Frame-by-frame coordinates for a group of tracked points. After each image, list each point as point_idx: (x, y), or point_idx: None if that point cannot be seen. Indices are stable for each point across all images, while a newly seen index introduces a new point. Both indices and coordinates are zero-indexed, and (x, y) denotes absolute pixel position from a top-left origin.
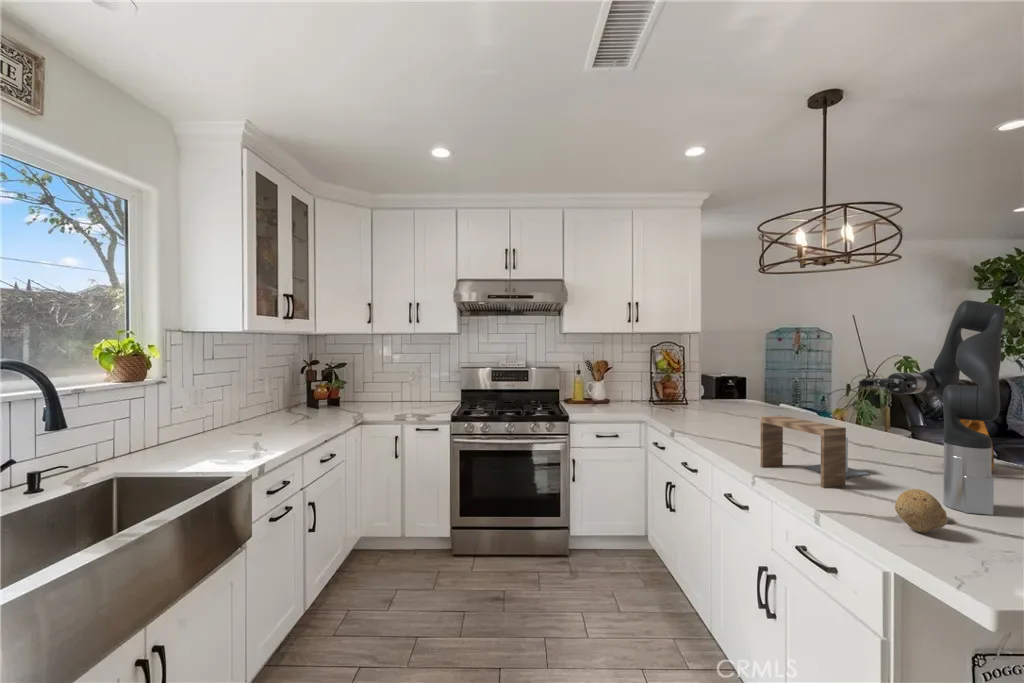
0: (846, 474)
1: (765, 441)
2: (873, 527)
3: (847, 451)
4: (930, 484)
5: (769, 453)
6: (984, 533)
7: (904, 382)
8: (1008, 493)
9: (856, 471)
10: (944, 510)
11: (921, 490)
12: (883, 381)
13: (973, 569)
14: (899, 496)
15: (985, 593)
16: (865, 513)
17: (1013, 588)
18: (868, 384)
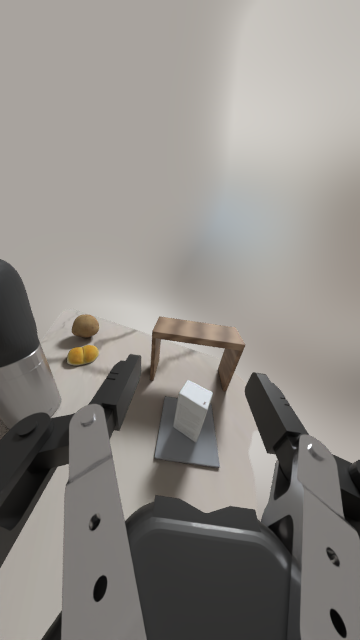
0: (167, 412)
1: (225, 351)
2: (109, 329)
3: (176, 408)
4: (56, 520)
5: (223, 365)
6: (46, 357)
7: (29, 421)
8: None
9: (169, 446)
10: (68, 354)
11: (82, 315)
12: (228, 508)
13: (69, 320)
14: (95, 318)
15: (70, 311)
16: (117, 340)
17: (58, 317)
18: (270, 441)
